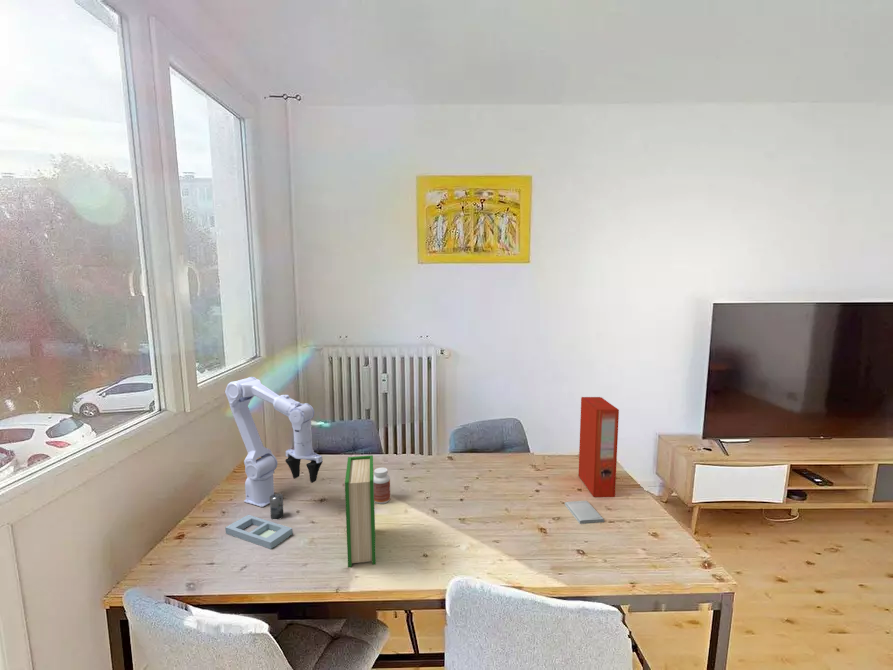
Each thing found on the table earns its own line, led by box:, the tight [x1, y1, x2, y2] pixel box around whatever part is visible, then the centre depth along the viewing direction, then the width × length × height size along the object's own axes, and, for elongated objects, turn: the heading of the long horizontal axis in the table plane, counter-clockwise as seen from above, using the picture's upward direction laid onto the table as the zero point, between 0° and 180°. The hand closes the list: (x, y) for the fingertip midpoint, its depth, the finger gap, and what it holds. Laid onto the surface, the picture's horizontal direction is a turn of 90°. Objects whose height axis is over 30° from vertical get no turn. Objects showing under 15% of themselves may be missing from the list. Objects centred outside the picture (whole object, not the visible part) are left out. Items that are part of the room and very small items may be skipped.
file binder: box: [578, 396, 620, 498], centre depth 164 cm, size 8×17×32 cm, turn 1°
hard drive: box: [564, 500, 605, 525], centre depth 147 cm, size 2×8×12 cm
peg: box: [269, 493, 285, 520], centre depth 146 cm, size 4×4×7 cm
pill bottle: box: [373, 467, 391, 505], centre depth 156 cm, size 6×6×11 cm
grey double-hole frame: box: [225, 514, 294, 550], centre depth 136 cm, size 19×8×2 cm, turn 64°
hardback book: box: [344, 454, 377, 568], centre depth 127 cm, size 18×7×24 cm, turn 10°
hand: (304, 479), depth 150 cm, fingers open, 7 cm apart
